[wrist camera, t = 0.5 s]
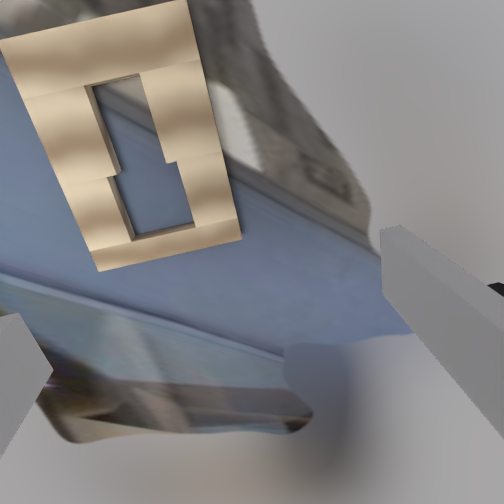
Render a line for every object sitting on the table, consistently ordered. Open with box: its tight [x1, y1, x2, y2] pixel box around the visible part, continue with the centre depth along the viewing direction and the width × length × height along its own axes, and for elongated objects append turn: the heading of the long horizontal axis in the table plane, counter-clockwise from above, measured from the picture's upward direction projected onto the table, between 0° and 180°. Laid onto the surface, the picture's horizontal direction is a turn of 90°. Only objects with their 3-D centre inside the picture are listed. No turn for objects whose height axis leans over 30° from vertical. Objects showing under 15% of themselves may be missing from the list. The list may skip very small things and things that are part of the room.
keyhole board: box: [0, 0, 242, 272], centre depth 34 cm, size 22×16×2 cm
